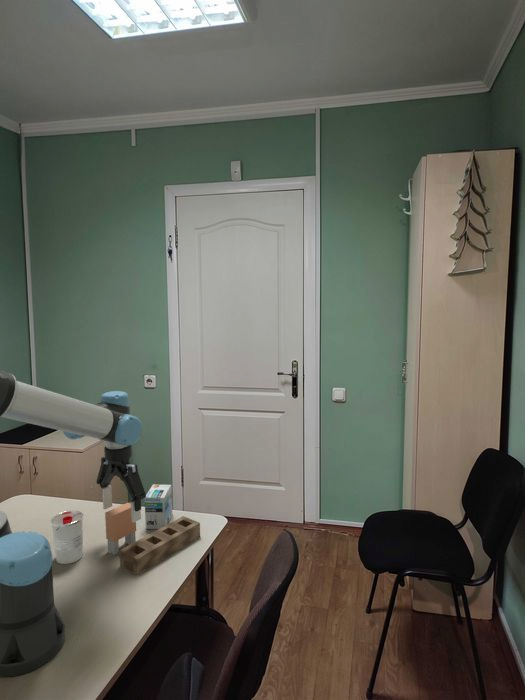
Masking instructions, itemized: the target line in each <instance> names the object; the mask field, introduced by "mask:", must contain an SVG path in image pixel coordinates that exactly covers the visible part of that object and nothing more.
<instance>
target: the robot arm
mask: <svg viewBox="0 0 525 700" xmlns="http://www.w3.org/2000/svg"><path fill="white" fill-rule="evenodd" d="M130 413H131V412H130V399H129V394H128V393H127V392H125V391H121V390H111V391H108V392H106V391H105V393H102V394H101V397H100V402H98V403H96V404H93V403H89V402H86V401H83V400H80V399H77V398H74V397H70V396H67V395H65V394H64V395H63V394H61V393H57V392H54V391H51V390H48V389H45V388H42V387H38V386H36V385H31V384H28V383H25V382H22V381H20V380H17V379H16V377H15V375H14V374H12V373H10V372H8V371H5V370H1V369H0V419H1V418H5V419H9V420H12V421H13V420H14V421H18V422H23V423H27V424H32V425H36V426H40V427H43V428H49V429H53V430H57V431H61V432H62V433H63V434H64V436H65V437H66V438H67V439H69V440H77V439H82V438H84V437H87V438H92V439H97V440H100V441H103V446H104V447H103V448H104V449H103V451H104V452H103V453H104V456H103V457H101V458H100V459H101V460H100V463H101V464H100V467H99V471H98V474H97V478H96V481H95V482H96V484H97V485H99V486H100V488H101V496H102V510H106V509H109V508H112V507H113V494H112V492H113V491H112V485H111V482H112V481H113V480H114V479H113V478H114V477H115V476H116V477H118V478H119V479H120V481H122V482H123V484H124V486H125V488H126V489H127V491H128V493H129V495H130V497H131V500H130V503H131V517H132V522H133V523H134V522H136V523H137V522H139V521H140V520H142V512H141V511H142V500H144V499H145V497H146V495H147V493H146V491H145V489H144V485H143V483H142V480H141V477H140V474H139V470H138V469H139V468H138V464H137V463H133V464H131V463H130V459H131V457H132V455H133V453H132V452H133V451H132V449H133V448H132V445H135V444H136V443H137V442H138V440H140V437H141V435H142V430H143V425H142V422H141V420H140V419H139V417H137V416H135V415H131V414H130ZM51 549H52V548H51V545H50V541H49V540H48V539H47V537H45V535H43V534H41V533H40V532H39V533H38V532H34V531H27V532H25V531H24V530H23V531H16V532H13V531H12V529H11V525H10V522H9V520H8V516H7V514H6V512H4V511H2V510H0V677H3V678H5V677H16V676H21V675H25V674H27V673H30V672H32V671H35V670H37V669H39V668H41V667H42V666H44V665H45V664H47V663H48V662H50V661H51V660H52V659H53V658H54V657H55V656H56V655H57V654H58V653H59V652H60V650H62V649H61V648H62V647H63V646H64V643H65V640H66V628H65V623H64V621H63V619H62V616H61V615H60V613H59V610H58V608H57V607H56V604H55V596H54V578H53V577H54V576H53V574H54V573H53V554H52V550H51Z"/></svg>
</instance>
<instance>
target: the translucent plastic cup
mask: <svg viewBox="0 0 525 700" xmlns="http://www.w3.org/2000/svg"><path fill="white" fill-rule="evenodd" d="M83 517H84V513H83V512H82V511H80V510H67V511H62V512H60V513H58V514H56V515H53V517H51V519H50V522H51V525H52V534H53V535H52V536H53V538H52V539H53V545H54V551H55V560H56V562H57V563H58V564H60V565H69V564H72V563H75V562H77V561H79V560H81V558H82V557H83V554H84V553H83V551H84V549H83V548H84V546H83V540H84V535H83V534H84V530H83V527H84V526H83Z"/></svg>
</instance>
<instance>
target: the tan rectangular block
mask: <svg viewBox="0 0 525 700" xmlns="http://www.w3.org/2000/svg"><path fill="white" fill-rule="evenodd" d="M104 513H105V514H104V515H105V516H104V517H105V536H106V537H105V538H106V540H107V551H108V553H110V554H112V555H114V556H115V555H118V553H119V554H120V545H119V540H121V539H123V538H124V544H125V543H126V544H128V545H130V544H132V543H134V542H136V541H137V540H136V532H137V521H136V522H134V523H133V522H132V517H131V502H126V503H124V504H121V505H119V506H117V507H115V508H111V509H110V510H108V511H105V512H104Z"/></svg>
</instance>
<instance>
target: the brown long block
mask: <svg viewBox="0 0 525 700" xmlns="http://www.w3.org/2000/svg"><path fill="white" fill-rule="evenodd" d="M199 536H200V537H201V522H199V521H196V520H195V519H194V520H193V519H191V518H189V517H187V516H181V517H179V518H177V519H175V520H173V521H172V522H169V523H168V525H166V526H164V527H162V528H160V529H155V530H154V531H153V532H151V533H149V534H147V535H146V536H144V537H141V538H139V539H138V540H136V542H134V543H132V544H130V545H129V544H128V545H127V546H125V547H123V548H121V549H119V563H120V567H122V568H124V569H125V570H128V571H130V572H131V573H133V574H135V575H136V576H138V575H140V574H142V573H144V571H146V570H149V569H150V568H152V567H153V566H155V565H156V564H158V563H159V562H161V561H163V560H164V559H166V558H167V557H169V556H171V555H172V554H174V553H176V552H177V551H179V550H181V549H182V548H184V547H185V546H187V545H189V544H190V542H191V541H192V542H194V541H195V540H197V539H199V538H200V537H199ZM198 537H199V538H198ZM196 538H197V539H196ZM193 540H194V541H193ZM192 542H191V543H192Z"/></svg>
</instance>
